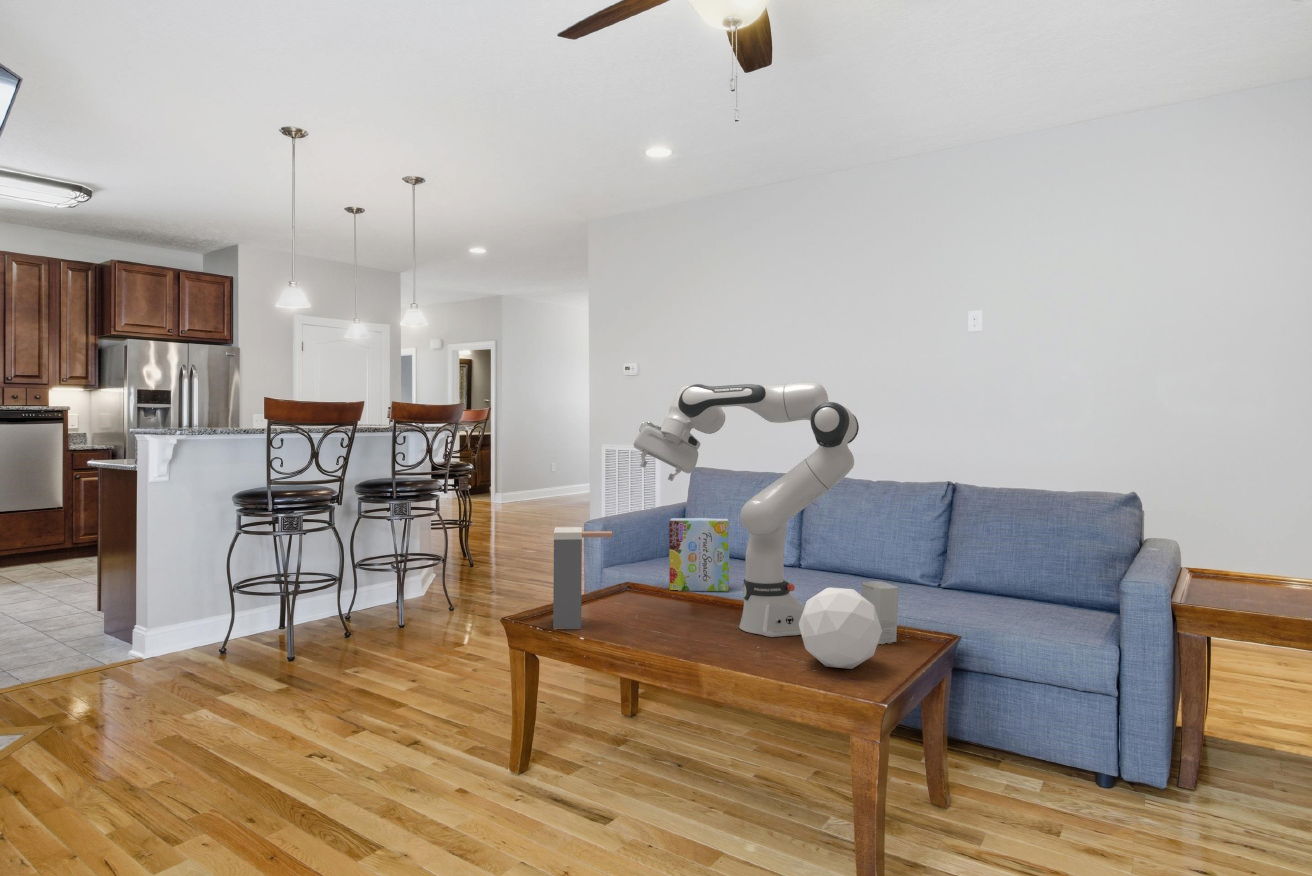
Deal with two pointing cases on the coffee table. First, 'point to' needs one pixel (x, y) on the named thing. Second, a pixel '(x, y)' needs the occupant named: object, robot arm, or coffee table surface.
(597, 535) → the lid
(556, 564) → the carton
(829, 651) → the geometric sculpture
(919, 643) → the coffee table surface
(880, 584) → the skincare box
